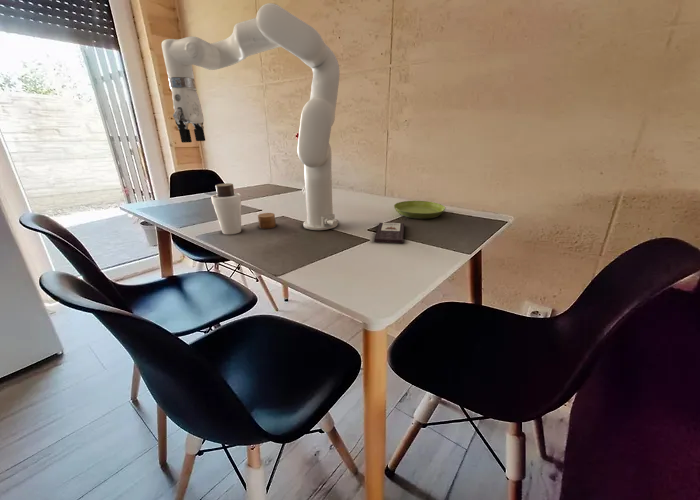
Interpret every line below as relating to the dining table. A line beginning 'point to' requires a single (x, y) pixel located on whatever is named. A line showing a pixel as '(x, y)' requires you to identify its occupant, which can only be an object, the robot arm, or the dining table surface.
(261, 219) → the oak chip middle
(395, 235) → the chocolate bar
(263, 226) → the oak base
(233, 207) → the foam cup
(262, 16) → the robot arm
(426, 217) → the saucer
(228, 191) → the walnut chip
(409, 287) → the dining table surface
